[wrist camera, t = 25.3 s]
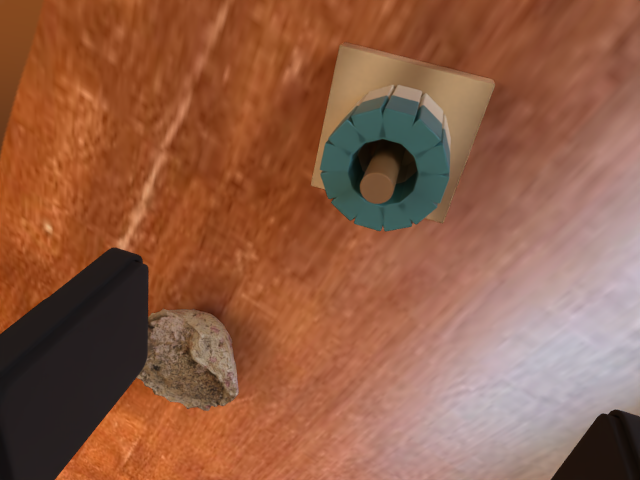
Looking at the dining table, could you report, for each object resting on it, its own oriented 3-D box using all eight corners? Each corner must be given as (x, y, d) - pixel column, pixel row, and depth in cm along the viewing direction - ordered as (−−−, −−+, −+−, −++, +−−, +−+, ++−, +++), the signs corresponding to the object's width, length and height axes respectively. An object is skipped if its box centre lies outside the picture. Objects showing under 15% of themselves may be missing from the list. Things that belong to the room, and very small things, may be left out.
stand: (493, 79, 28) (509, 121, 20) (443, 214, 33) (439, 292, 25) (344, 41, 29) (302, 67, 21) (315, 177, 34) (272, 241, 26)
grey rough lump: (189, 358, 50) (260, 409, 44) (128, 405, 45) (200, 467, 40) (168, 270, 43) (247, 317, 38) (94, 313, 39) (174, 373, 34)
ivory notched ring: (464, 101, 28) (465, 114, 25) (430, 200, 31) (427, 221, 29) (356, 73, 29) (346, 83, 26) (333, 173, 32) (323, 190, 29)
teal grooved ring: (466, 114, 25) (467, 129, 23) (428, 220, 29) (425, 245, 26) (347, 82, 26) (335, 94, 23) (323, 190, 29) (310, 211, 27)
